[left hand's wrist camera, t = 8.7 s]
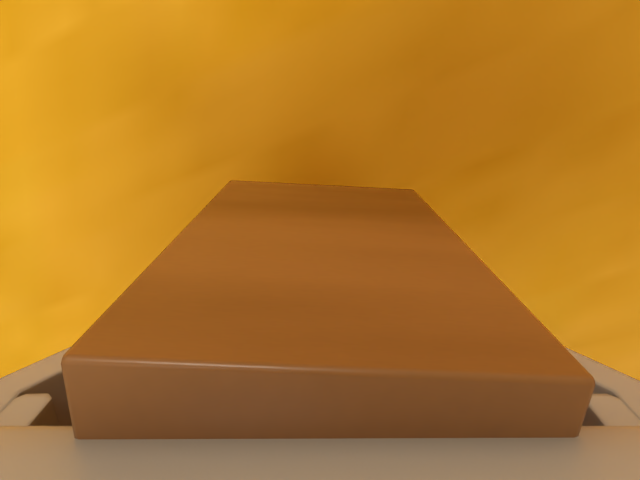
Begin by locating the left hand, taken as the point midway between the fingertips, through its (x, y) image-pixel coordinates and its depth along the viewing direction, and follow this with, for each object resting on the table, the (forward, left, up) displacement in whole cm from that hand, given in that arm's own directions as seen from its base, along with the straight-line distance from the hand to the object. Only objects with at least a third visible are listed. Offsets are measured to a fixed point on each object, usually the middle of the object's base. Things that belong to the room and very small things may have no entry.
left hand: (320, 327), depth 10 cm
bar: (+8, +5, -4) cm, 10 cm away
